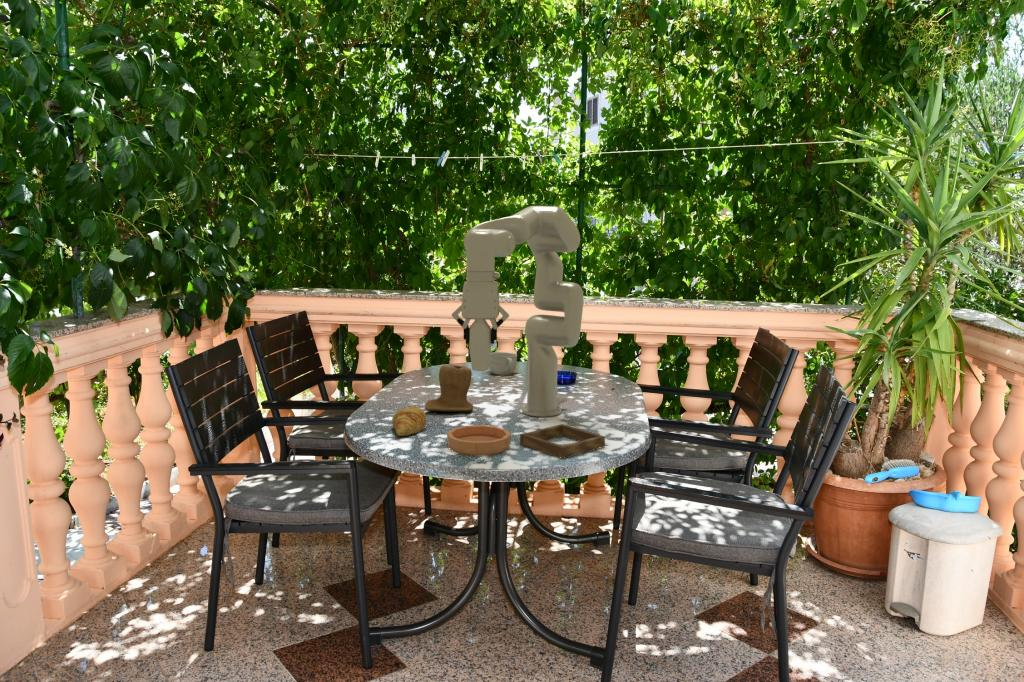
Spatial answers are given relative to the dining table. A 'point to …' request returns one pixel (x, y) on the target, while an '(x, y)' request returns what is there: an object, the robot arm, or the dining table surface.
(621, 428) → the dining table surface
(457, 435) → the terracotta dish
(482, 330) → the faceted bottle
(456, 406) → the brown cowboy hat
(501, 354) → the teacup
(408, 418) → the croissant
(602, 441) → the square wooden frame
